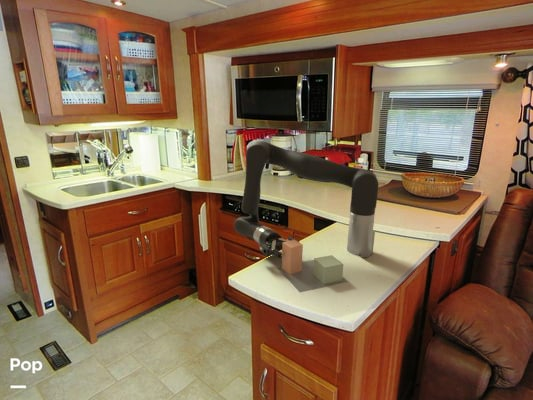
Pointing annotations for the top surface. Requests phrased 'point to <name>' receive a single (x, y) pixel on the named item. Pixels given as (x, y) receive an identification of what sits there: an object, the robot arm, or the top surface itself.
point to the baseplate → (307, 278)
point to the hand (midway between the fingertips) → (291, 253)
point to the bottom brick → (328, 269)
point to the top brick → (292, 256)
